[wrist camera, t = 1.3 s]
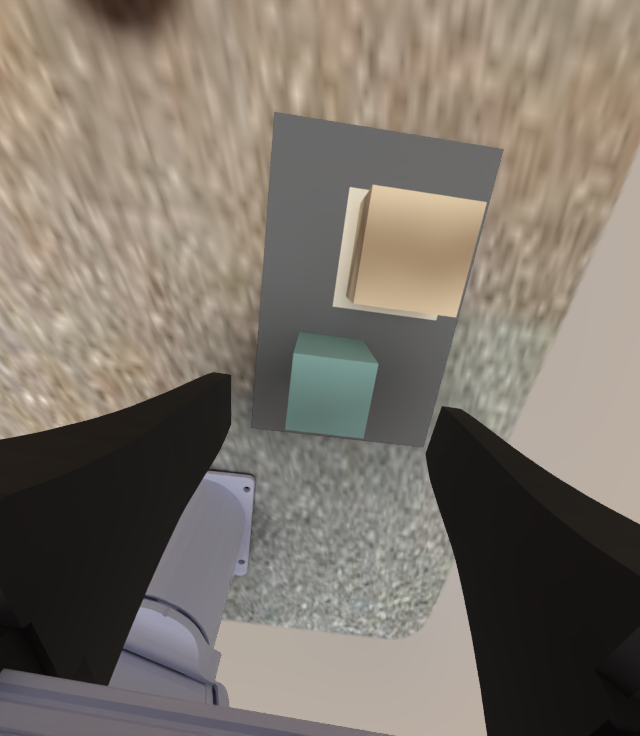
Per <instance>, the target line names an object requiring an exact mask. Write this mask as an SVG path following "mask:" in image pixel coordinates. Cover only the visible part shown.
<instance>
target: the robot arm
mask: <svg viewBox="0 0 640 736" xmlns="http://www.w3.org/2000/svg"><path fill="white" fill-rule="evenodd" d="M230 426H231V375H229V374H222V373H215V372H213V373H210V374H207V375H204V376H202V377H200V378H197V379H195V380H193V381H191V382H188V383H186V384H184V385H182V386H180V387H177V388H175V389H173V390H171V391H168V392H166V393H164V394H161V395H159V396H156V397H154V398H151V399H149V400H146V401H144V402H141V403H139V404H136V405H134V406H131V407H128V408H125V409H122V410H119V411H116V412H113V413H110V414H107V415H104V416H100V417H97V418H94V419H90V420H87V421H83V422H79V423H75V424H71V425H67V426H63V427H59V428H55V429H51V430H47V431H42V432H38V433H33V434H28V435H23V436H18V437H12V438H7V439H1V440H0V736H393V735H388V734H382V733H376V732H370V731H365V730H359V729H352V728H347V727H341V726H335V725H330V724H324V723H318V722H312V721H306V720H300V719H295V718H289V717H283V716H277V715H272V714H266V713H260V712H254V711H248V710H243V709H236V708H231V707H229V699H228V694H227V690H226V688H225V687H224V686H223V685H222V684H221V683H218V682H216V681H215V678H216V673H217V669H218V665H219V662H220V658H221V653H220V652H218V651H217V650H214V649H213V648H214V644H215V641H216V637H217V634H218V630H219V626H220V623H221V619H222V615H223V612H224V608H225V604H226V601H227V597H228V593H229V590H230V586H231V582H232V579H233V575H239V576H243V575H245V574H246V573H247V570H248V561H249V549H250V536H251V524H252V512H253V500H254V487H255V479H254V477H252V476H251V475H244V474H235V473H225V472H216V471H208V469H209V468H210V466H211V464H212V463H213V461H214V459H215V458H216V456H217V454H218V453H219V451H220V449H221V447H222V445H223V442H224V440H225V438H226V436H227V433H228V431H229V428H230ZM426 460H427V466H428V472H429V477H430V482H431V485H432V488H433V491H434V494H435V497H436V501H437V504H438V507H439V510H440V513H441V516H442V519H443V522H444V525H445V528H446V531H447V534H448V537H449V540H450V543H451V546H452V549H453V553H454V556H455V560H456V564H457V568H458V573H459V577H460V582H461V586H462V590H463V595H464V600H465V605H466V610H467V615H468V620H469V625H470V631H471V635H472V641H473V646H474V653H475V659H476V664H477V671H478V676H479V682H480V688H481V695H482V702H483V709H484V716H485V723H486V730H487V736H640V524H638V523H636V522H634V521H632V520H630V519H629V518H627V517H625V516H623V515H621V514H619V513H617V512H615V511H614V510H612V509H610V508H608V507H606V506H604V505H602V504H600V503H599V502H597V501H595V500H593V499H592V498H590V497H588V496H586V495H585V494H583V493H581V492H580V491H578V490H576V489H575V488H573V487H572V486H570V485H568V484H567V483H565V482H563V481H562V480H560V479H559V478H557V477H555V476H554V475H552V474H551V473H549V472H548V471H546V470H545V469H543V468H542V467H540V466H539V465H537V464H536V463H534V462H533V461H532V460H530V459H529V458H527V457H525V456H524V455H523V454H522V453H520V452H519V451H517V450H516V449H514V448H513V447H512V446H511V445H509V444H508V443H507V442H505V441H504V440H503V439H501V438H500V437H499V436H497V435H496V434H495V433H493V432H492V431H491V430H490V429H488V428H487V427H486V426H484V425H483V424H482V423H480V422H479V421H478V420H476V419H475V418H473V417H472V416H471V415H469V414H468V413H466V412H465V411H463V410H461V409H458V408H451V407H444V406H442V408H441V411H440V413H439V416H438V419H437V422H436V425H435V428H434V431H433V434H432V437H431V440H430V442H429V445H428V448H427V451H426ZM245 487H249V488H250V489H246V488H245Z"/></svg>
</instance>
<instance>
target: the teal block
mask: <svg viewBox="0 0 640 736" xmlns="http://www.w3.org/2000/svg"><path fill="white" fill-rule="evenodd" d="M377 369H378V362H377V361H376V359H375V358H374V356H373V355H372V353H371V351H370V350H369V348H368V347H367V345H366V344H365V342H364V340H358V339H350V338H342V337H334V336H327V335H319V334H311V333H303V332H299V335H298V339H297V343H296V346H295V350H294V353H293V362H292V372H291V381H290V390H289V399H288V408H287V417H286V426H285V430H292V431H301V432H310V433H319V434H327V435H336V436H345V437H354V438H363V439H364V434H365V429H366V424H367V419H368V414H369V409H370V404H371V399H372V394H373V389H374V384H375V379H376V374H377Z"/></svg>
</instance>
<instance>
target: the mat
mask: <svg viewBox="0 0 640 736" xmlns="http://www.w3.org/2000/svg"><path fill="white" fill-rule="evenodd" d="M503 150H504V149H498V148H492V147H486V146H480V145H474V144H468V143H462V142H456V141H449V140H443V139H437V138H431V137H425V136H419V135H413V134H406V133H400V132H394V131H388V130H382V129H376V128H370V127H364V126H357V125H351V124H345V123H339V122H333V121H327V120H321V119H314V118H308V117H302V116H296V115H290V114H284V113H278V112H274V125H273V139H272V152H271V166H270V180H269V194H268V207H267V221H266V235H265V249H264V262H263V276H262V290H261V303H260V317H259V331H258V345H257V358H256V372H255V386H254V399H253V413H252V427H251V428H256V429H265V430H274V431H283V432H291V433H300V434H309V435H318V436H327V437H336V438H344V439H353V440H362V441H371V442H380V443H389V444H397V445H406V446H415V447H424V443H425V440H426V436H427V432H428V428H429V425H430V421H431V417H432V414H433V410H434V406H435V402H436V399H437V395H438V391H439V388H440V384H441V380H442V376H443V373H444V369H445V365H446V362H447V358H448V354H449V350H450V347H451V343H452V339H453V336H454V332H455V328H456V324H457V321H458V317H459V313H460V310H461V306H462V302H463V298H464V295H465V291H466V287H467V284H468V280H469V276H470V272H471V269H472V265H473V261H474V258H475V254H476V250H477V246H478V243H479V239H480V235H481V231H482V228H483V224H484V220H485V217H486V213H487V209H488V205H489V202H490V198H491V194H492V191H493V187H494V183H495V179H496V176H497V172H498V168H499V165H500V161H501V157H502V153H503ZM372 185H379V186H385V187H392V188H398V189H405V190H411V191H418V192H424V193H431V194H437V195H444V196H450V197H457V198H463V199H470V200H476V201H483V202H487V204H486V208H485V212H484V215H483V219H482V223H481V227H480V230H479V234H478V238H477V241H476V245H475V249H474V253H473V256H472V260H471V264H470V268H469V271H468V275H467V279H466V283H465V286H464V290H463V294H462V298H461V301H460V305H459V309H458V313H457V316H456V317H449V316H441V315H434V314H426V313H419V312H412V311H404V310H397V309H389V308H382V307H374V306H367V305H360V304H353V303H352V302H351V301H350V300H349V299H348V298H347V297H346V293H347V286H348V280H349V273H350V267H351V260H352V254H353V247H354V241H355V234H356V228H357V222H358V215H359V209H360V203H361V202H362V200H363V199H364V197H365V196H366V194H367V193H368V191H369V190H370V188H371V187H372ZM299 332H303V333H311V334H319V335H327V336H334V337H342V338H350V339H358V340H364V342H365V344H366V345H367V347H368V348H369V350H370V351H371V353H372V355H373V356H374V358H375V359H376V361H377V362H378V369H377V374H376V379H375V384H374V389H373V394H372V399H371V404H370V409H369V414H368V419H367V424H366V429H365V434H364V439H363V438H354V437H345V436H336V435H327V434H319V433H310V432H301V431H292V430H285V426H286V417H287V408H288V399H289V390H290V381H291V372H292V362H293V353H294V350H295V346H296V343H297V339H298V335H299Z"/></svg>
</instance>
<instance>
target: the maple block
mask: <svg viewBox="0 0 640 736" xmlns="http://www.w3.org/2000/svg"><path fill="white" fill-rule="evenodd" d="M486 204H487V202H483V201H476V200H470V199H463V198H457V197H450V196H444V195H437V194H431V193H424V192H418V191H411V190H405V189H398V188H392V187H385V186H379V185H372V187H371V188H370V190H369V191H368V193H367V194H366V196H365V197H364V199H363V200H362V202H361V203H360V209H359V215H358V222H357V228H356V234H355V241H354V247H353V254H352V260H351V267H350V273H349V280H348V286H347V293H346V297H347V298H348V299H349V300H350V301H351V302H352V303H353V304H360V305H367V306H374V307H382V308H389V309H397V310H404V311H412V312H419V313H426V314H434V315H441V316H449V317H456V316H457V313H458V309H459V305H460V301H461V298H462V294H463V290H464V286H465V283H466V279H467V275H468V271H469V268H470V264H471V260H472V256H473V253H474V249H475V245H476V241H477V238H478V234H479V230H480V227H481V223H482V219H483V215H484V212H485V208H486Z"/></svg>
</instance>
